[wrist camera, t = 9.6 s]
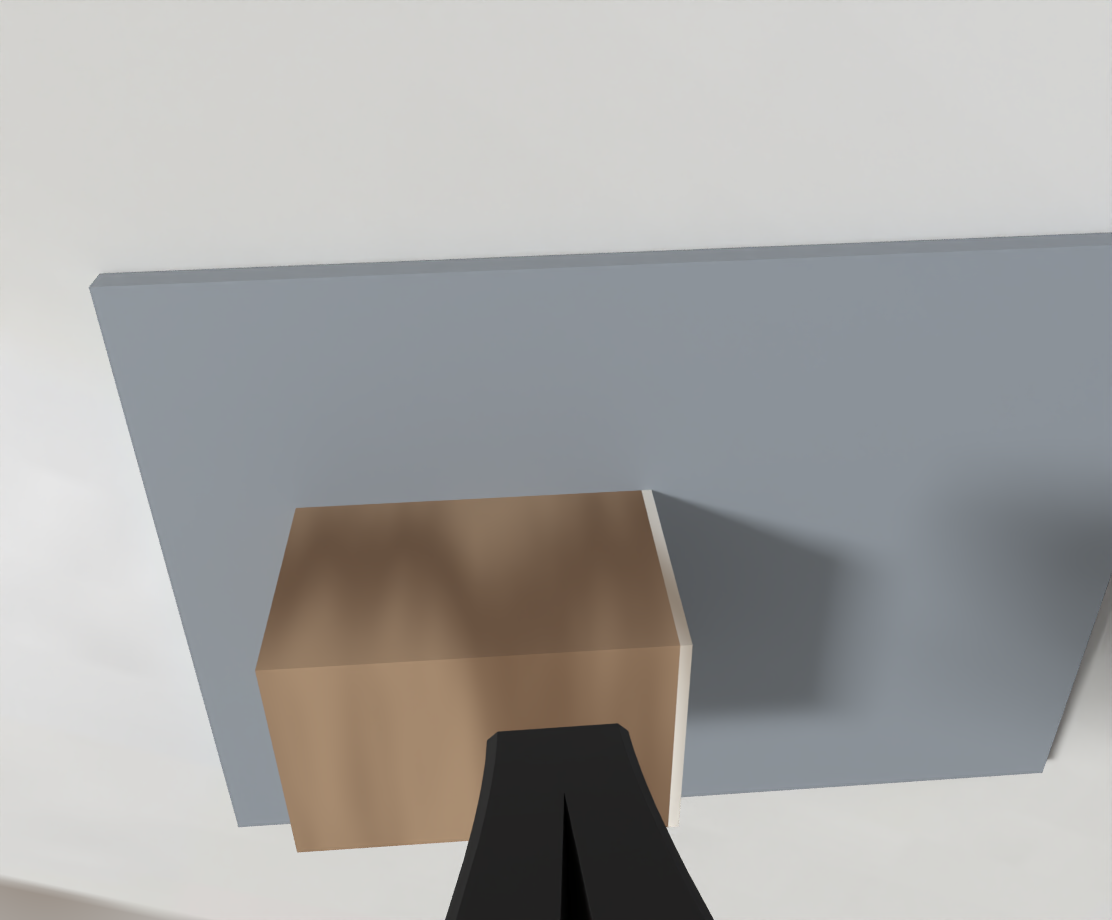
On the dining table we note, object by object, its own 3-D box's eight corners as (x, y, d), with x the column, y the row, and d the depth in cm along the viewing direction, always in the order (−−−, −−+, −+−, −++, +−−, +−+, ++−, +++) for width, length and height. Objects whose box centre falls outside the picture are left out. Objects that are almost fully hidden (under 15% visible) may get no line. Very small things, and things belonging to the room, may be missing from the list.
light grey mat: (1207, 229, 19) (1228, 240, 18) (1031, 754, 26) (1042, 772, 26) (99, 273, 18) (88, 286, 17) (243, 806, 25) (238, 826, 25)
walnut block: (695, 645, 17) (254, 670, 16) (681, 826, 19) (297, 852, 19) (654, 489, 20) (295, 508, 20) (646, 657, 23) (326, 676, 22)
